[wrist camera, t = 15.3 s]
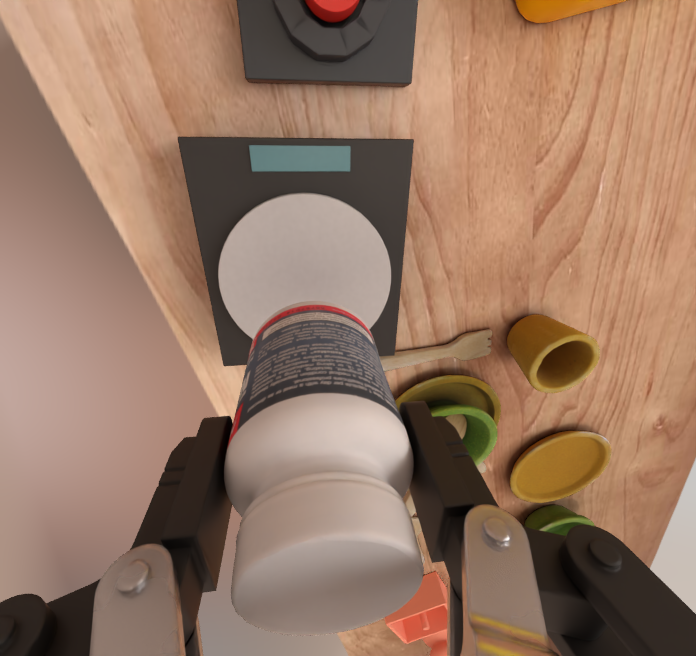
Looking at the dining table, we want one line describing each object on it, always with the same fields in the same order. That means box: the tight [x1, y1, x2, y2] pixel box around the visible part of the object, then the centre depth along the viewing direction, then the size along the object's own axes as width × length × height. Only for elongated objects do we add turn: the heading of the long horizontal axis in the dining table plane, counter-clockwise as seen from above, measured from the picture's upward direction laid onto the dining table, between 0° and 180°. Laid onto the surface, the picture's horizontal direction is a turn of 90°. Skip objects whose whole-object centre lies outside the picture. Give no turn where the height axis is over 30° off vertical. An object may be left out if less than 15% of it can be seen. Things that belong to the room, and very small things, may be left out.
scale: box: [178, 137, 414, 366], centre depth 25 cm, size 14×16×4 cm
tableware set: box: [379, 314, 611, 564], centre depth 39 cm, size 41×28×6 cm
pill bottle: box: [224, 301, 424, 636], centre depth 11 cm, size 5×5×9 cm
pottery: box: [385, 571, 447, 656], centre depth 54 cm, size 18×10×10 cm, turn 24°
